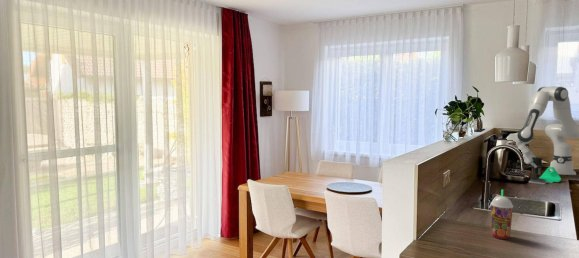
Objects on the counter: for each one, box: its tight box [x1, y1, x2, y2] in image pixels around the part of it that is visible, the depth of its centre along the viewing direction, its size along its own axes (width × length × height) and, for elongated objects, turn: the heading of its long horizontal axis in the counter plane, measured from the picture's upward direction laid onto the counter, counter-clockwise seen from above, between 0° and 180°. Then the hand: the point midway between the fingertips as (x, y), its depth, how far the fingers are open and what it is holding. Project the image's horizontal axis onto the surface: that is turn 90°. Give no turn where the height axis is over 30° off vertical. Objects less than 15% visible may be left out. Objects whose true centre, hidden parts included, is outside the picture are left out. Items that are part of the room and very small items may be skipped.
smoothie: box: [490, 189, 514, 240], centre depth 161 cm, size 8×8×20 cm
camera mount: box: [539, 166, 562, 183], centre depth 274 cm, size 12×8×10 cm, turn 47°
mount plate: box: [528, 177, 549, 185], centre depth 270 cm, size 10×10×2 cm
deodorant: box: [531, 156, 543, 178], centre depth 287 cm, size 6×6×15 cm
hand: (537, 166), depth 286 cm, fingers closed on deodorant, 6 cm apart
